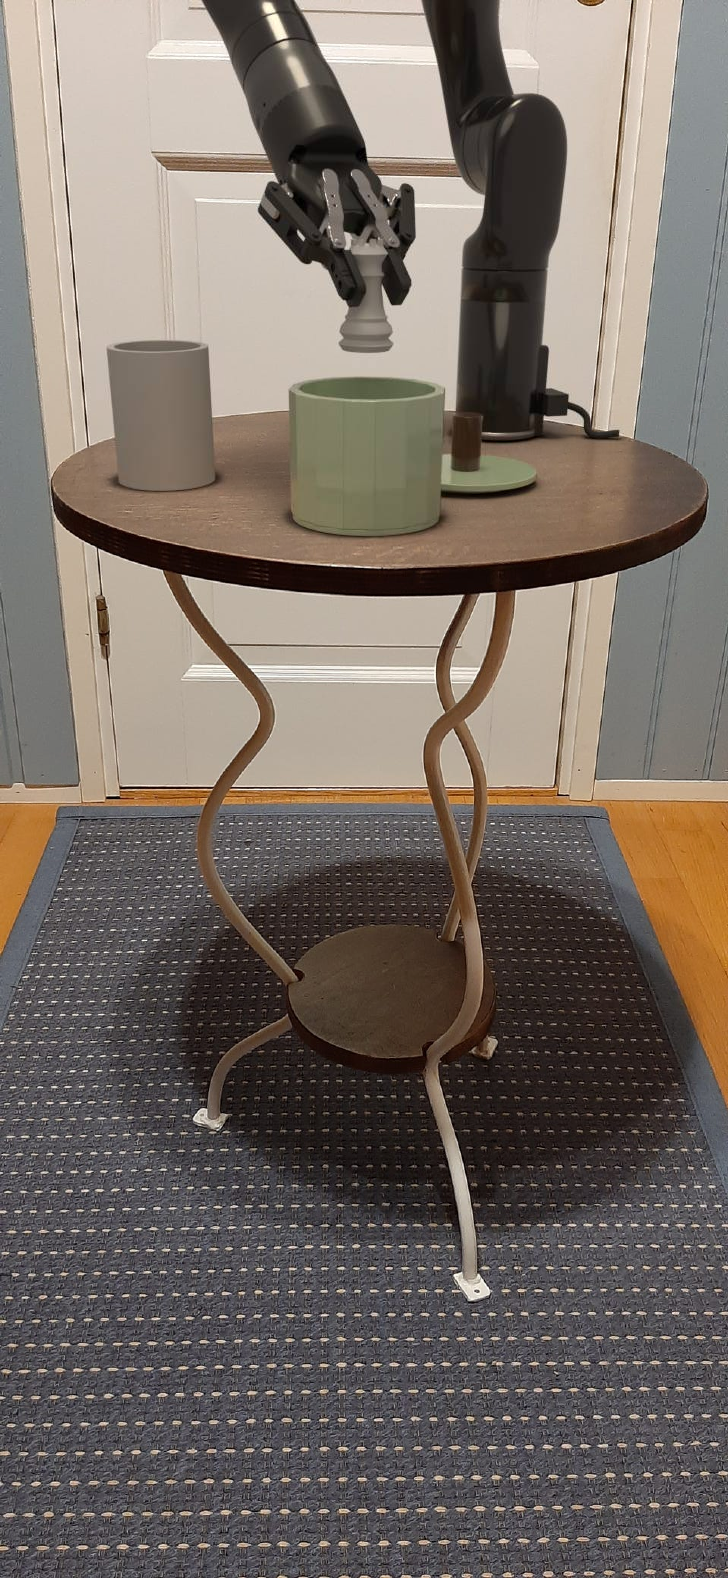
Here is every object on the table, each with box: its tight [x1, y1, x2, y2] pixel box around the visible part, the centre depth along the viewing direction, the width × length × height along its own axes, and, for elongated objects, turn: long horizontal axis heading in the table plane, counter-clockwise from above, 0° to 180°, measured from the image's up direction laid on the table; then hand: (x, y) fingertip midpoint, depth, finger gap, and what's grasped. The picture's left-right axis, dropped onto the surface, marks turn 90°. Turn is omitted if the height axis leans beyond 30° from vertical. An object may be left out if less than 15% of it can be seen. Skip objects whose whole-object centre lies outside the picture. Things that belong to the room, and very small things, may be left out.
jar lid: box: [441, 412, 538, 494], centre depth 109 cm, size 14×14×6 cm
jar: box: [288, 375, 446, 537], centre depth 96 cm, size 13×13×10 cm
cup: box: [106, 339, 216, 492], centre depth 107 cm, size 9×9×12 cm
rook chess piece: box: [338, 238, 394, 354], centre depth 90 cm, size 4×4×8 cm
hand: (380, 298), depth 89 cm, fingers closed on rook chess piece, 3 cm apart
